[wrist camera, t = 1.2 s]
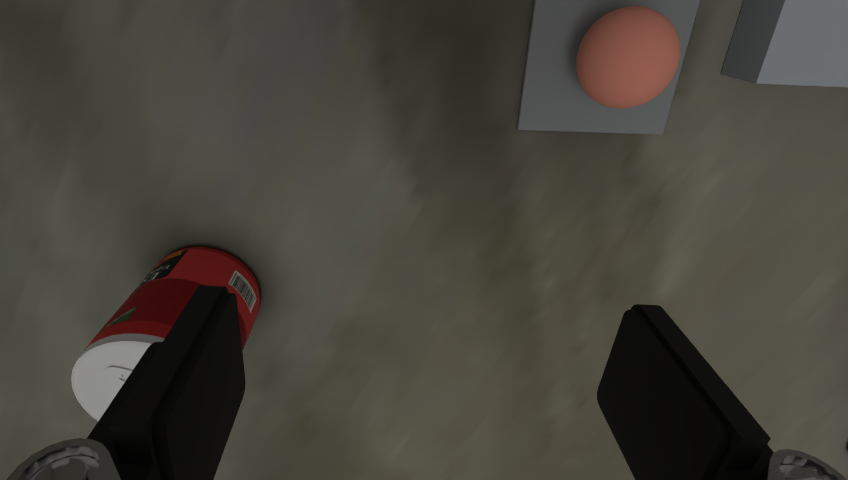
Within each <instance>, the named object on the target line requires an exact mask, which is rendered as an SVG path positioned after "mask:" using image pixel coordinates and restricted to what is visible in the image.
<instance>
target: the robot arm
mask: <svg viewBox="0 0 848 480" xmlns="http://www.w3.org/2000/svg"><path fill="white" fill-rule="evenodd" d="M244 391H245V373H244V363H243V354H242V344H241V334H240V325H239V315H238V305H237V297H236V294H235V293H229V292H228V289H227V287H226V286H207V285H200V286H199V287H198V288H197V289H196V291H195V292H194V294H193V295H192V297H191V298H190V300H189V302H188V303H187V305H186V306H185V308H184V309H183V311H182V312H181V314H180V316H179V317H178V319H177V320H176V322H175V323H174V325H173V327H172V328H171V330H170V331H169V333H168V334H167V336H166V337H165V339H164V341H163V342H154V343H152V344H151V345H150V346H149V347H148V348H147V350H146V351H145V353H144V354H143V356H142V357H141V359H140V360H139V362H138V363H137V365H136V366H135V368H134V369H133V371H132V372H131V374H130V375H129V377H128V378H127V380H126V381H125V383H124V384H123V386H122V387H121V389H120V390H119V392H118V393H117V394H116V396H115V397H114V399H113V400H112V402H111V403H110V405H109V406H108V408H107V409H106V411H105V412H104V414H103V415H102V417H101V418H100V420H99V421H98V423H97V424H96V426H95V427H94V429H93V430H92V432H91V433H90V435H89V436H88V438H87V439H82V438H78V439H72V440H65V441H62V442H59V443H56V444H53V445H50V446H48V447H46V448H44V449H42V450H40V451H38V452H36V453H35V454H33V455H31V456H30V457H29V458H28V459H26V460H25V461H24V462H22V463H21V464H20V465H19V466H18V467H17V468H16V469H15V470H14V471H13V472H12V474H11V475H10V476H9V477H8V479H7V480H213V479H214V476H215V473H216V470H217V468H218V465H219V462H220V459H221V457H222V454H223V451H224V448H225V446H226V443H227V440H228V437H229V434H230V432H231V429H232V426H233V423H234V421H235V418H236V415H237V412H238V410H239V407H240V404H241V401H242V399H243V395H244ZM597 400H598V404H599V406H600V408H601V410H602V412H603V414H604V417H605V419H606V421H607V423H608V425H609V427H610V429H611V431H612V433H613V435H614V437H615V439H616V441H617V443H618V445H619V447H620V449H621V451H622V453H623V455H624V457H625V459H626V462H627V464H628V466H629V468H630V470H631V472H632V474H633V476H634V478H635V480H846V479H845V478H844V477H843V476H842V475H841V474H840V473H839V472H838V471H836V470H835V469H834V468H832V467H831V466H830V465H828V464H826V463H825V462H823V461H821V460H819V459H818V458H816V457H814V456H811V455H809V454H806V453H803V452H800V451H795V450H790V449H786V450H778V451H777V452H775V453H774V452H773V451H772V450H771V449H770V447H769V446H768V445H767V444H768V442H769V440H770V439H771V438H770V437H769V436H768V435H767V433H766V432H765V431H764V430H763V429H762V427H761V426H760V425H759V424H758V423H757V421H756V420H755V419H754V418H753V417H752V415H751V414H750V413H749V412H748V410H747V409H746V408H745V407H744V406H743V404H742V403H741V402H740V401H739V400H738V398H737V397H736V396H735V395H734V394H733V392H732V391H731V390H730V389H729V388H728V386H727V385H726V384H725V383H724V382H723V380H722V379H721V378H720V377H719V376H718V374H717V373H716V372H715V371H714V370H713V368H712V367H711V366H710V365H709V364H708V362H707V361H706V360H705V359H704V358H703V356H702V355H701V354H700V353H699V352H698V350H697V349H696V348H695V347H694V345H693V344H692V343H691V342H690V341H689V339H688V338H687V337H686V336H685V335H684V333H683V332H682V331H681V330H680V329H679V327H678V326H677V325H676V324H675V323H674V321H673V320H672V319H671V318H670V317H669V315H668V314H667V313H666V312H665V311H664V309H663V308H662V307H660V306H658V305H638V304H636V305H634V306H633V307H632V308H631V310H627V311H626V312H625V313H624V315H623V318H622V321H621V324H620V327H619V329H618V332H617V335H616V338H615V341H614V344H613V347H612V350H611V353H610V356H609V358H608V361H607V364H606V367H605V370H604V373H603V376H602V379H601V382H600V384H599V387H598V391H597Z"/></svg>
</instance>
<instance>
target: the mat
mask: <svg viewBox="0 0 848 480" xmlns="http://www.w3.org/2000/svg"><path fill="white" fill-rule="evenodd" d="M699 2H700V0H534V4H533V11H532V19H531V26H530V33H529V41H528V48H527V55H526V63H525V70H524V77H523V85H522V92H521V99H520V107H519V114H518V122H517V129H518V130H538V131H569V132H601V133H632V134H663V132H664V128H665V124H666V121H667V117H668V114H669V110H670V106H671V103H672V99H673V96H674V92H675V88H676V85H677V81H678V78H679V74H680V70H681V67H682V63H683V60H684V56H685V52H686V49H687V45H688V42H689V38H690V34H691V31H692V27H693V24H694V20H695V16H696V13H697V9H698V6H699ZM628 6H642V7H647V8H650V9H654V10H656V11H658V12H659V13H661V14H662V15H664V16H665V17H666V18H667V19H668V20H669V21H670V22H671V23H672V25H673V26H674V28H675V30H676V32H677V34H678V37H679V42H680V59H679V64H678V67H677V70H676V72H675V74H674V76H673V78H672V80H671V81H670V83H669V84H668V86H667V87H666V88H665V89H664V90H663V91H662V92H661V93H660V94H659V95H657V96H656V97H655V98H653V99H652V100H650V101H648V102H647V103H644V104H642V105H639V106H636V107H632V108H624V109H619V108H611V107H607V106H604V105H602V104H599V103H598V102H596V101H594V100H593V99H592V98H591V97H590V96H589V95H588V94H587V93H586V92H585V91H584V89H583V88H582V86H581V84H580V82H579V79H578V75H577V70H576V59H577V53H578V49H579V46H580V43H581V41H582V39H583V37H584V36H585V34H586V33H587V31H588V30H589V29H590V27H591V26H592V25H593V24H594V23H595V22H596V21H597V20H599V19H600V18H601V17H603V16H604V15H606V14H607V13H609V12H612V11H614V10H616V9H619V8H623V7H628Z"/></svg>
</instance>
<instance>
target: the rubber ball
mask: <svg viewBox="0 0 848 480" xmlns="http://www.w3.org/2000/svg"><path fill="white" fill-rule="evenodd" d="M679 59H680V42H679V37H678V34H677V32H676V30H675V28H674V26H673V25H672V23H671V22H670V21H669V20H668V19H667V18H666V17H665V16H664V15H662V14H661V13H659V12H658V11H656V10H654V9H650V8H647V7H642V6H628V7H623V8H619V9H616V10H614V11H612V12H609V13H607V14H606V15H604V16H603V17H601V18H600V19H599V20H597V21H596V22H595V23H594V24H593V25H592V26H591V27H590V29H589V30H588V31H587V33H586V34H585V36H584V37H583V39H582V41H581V43H580V46H579V49H578V53H577V59H576V70H577V75H578V79H579V82H580V84H581V86H582V88H583V89H584V91H585V92H586V93H587V94H588V95H589V96H590V97H591V98H592V99H593V100H594V101H596V102H598V103H599V104H602V105H604V106H607V107H611V108H619V109H624V108H632V107H636V106H639V105H642V104H644V103H647V102H648V101H650V100H652V99H653V98H655V97H656V96H657V95H659V94H660V93H661V92H662V91H663V90H664V89H665V88H666V87H667V86H668V84H669V83H670V81H671V80H672V78H673V76H674V74H675V72H676V70H677V67H678V64H679Z"/></svg>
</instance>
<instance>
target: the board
mask: <svg viewBox="0 0 848 480" xmlns="http://www.w3.org/2000/svg"><path fill="white" fill-rule="evenodd" d="M721 74H723V75H727V76H730V77H734V78H738V79H741V80H745V81H749V82H752V83H756V84H781V85H806V86H831V87H848V0H744V1H743V5H742V8H741V11H740V14H739V17H738V20H737V24H736V27H735V30H734V33H733V36H732V39H731V43H730V46H729V49H728V52H727V55H726V59H725V62H724V65H723V68H722V71H721Z"/></svg>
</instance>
